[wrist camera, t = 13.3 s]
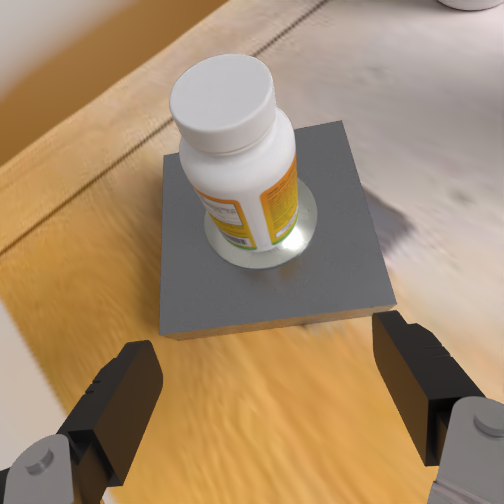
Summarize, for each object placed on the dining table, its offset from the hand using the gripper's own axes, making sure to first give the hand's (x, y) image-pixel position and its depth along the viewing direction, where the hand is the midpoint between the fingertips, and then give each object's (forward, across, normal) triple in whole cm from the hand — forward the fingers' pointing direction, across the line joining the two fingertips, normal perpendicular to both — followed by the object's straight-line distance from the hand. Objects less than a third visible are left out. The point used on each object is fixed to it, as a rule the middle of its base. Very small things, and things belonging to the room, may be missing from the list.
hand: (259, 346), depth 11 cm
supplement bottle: (+11, 0, -2) cm, 11 cm away
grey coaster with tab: (+14, 0, -1) cm, 14 cm away
